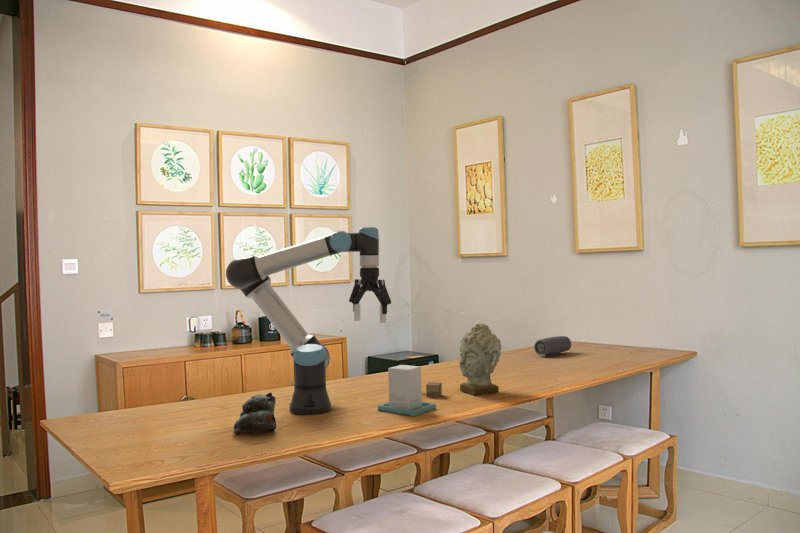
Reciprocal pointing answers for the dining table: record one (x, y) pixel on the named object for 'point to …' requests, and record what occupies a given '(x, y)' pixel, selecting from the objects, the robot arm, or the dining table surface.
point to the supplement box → (405, 387)
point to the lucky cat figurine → (257, 414)
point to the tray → (414, 412)
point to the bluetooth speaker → (552, 345)
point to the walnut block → (433, 389)
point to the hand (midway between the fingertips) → (369, 321)
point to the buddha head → (479, 360)
